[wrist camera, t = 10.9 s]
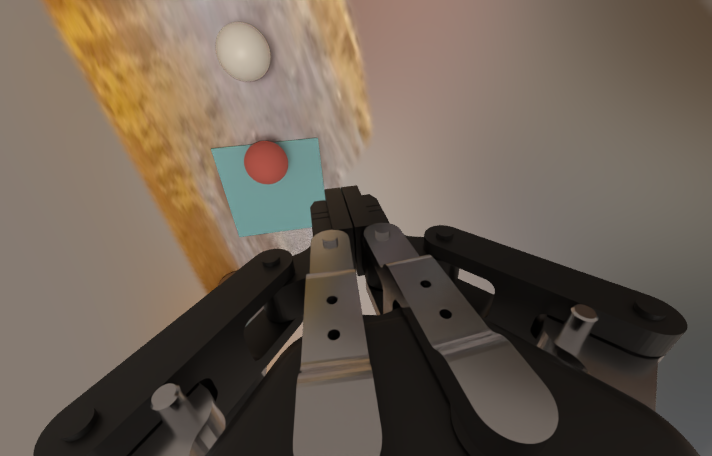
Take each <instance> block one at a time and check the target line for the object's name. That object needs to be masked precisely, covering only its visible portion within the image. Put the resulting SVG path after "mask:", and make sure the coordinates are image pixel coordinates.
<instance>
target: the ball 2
mask: <svg viewBox="0 0 712 456" xmlns="http://www.w3.org/2000/svg"><path fill="white" fill-rule="evenodd" d="M244 166H245V169H246V171H247V173H248V175H249V176H250V177H251V178H252V179H253V180H255V181H256V182H259V183H262V184H274V183H276V182H278V181H280V180H281V179H282V178H283V177H284V176H285V174H286V172H287V170H288V158H287V155H286V153H285V152H284V150H283V149H282V148H281V147H280V146H279V145H277V144H275V143H273V142H270V141H260V142H257V143H254V144H253V145H251V146H250V147H249V148H248V150H247V151H246V153H245V157H244Z"/></svg>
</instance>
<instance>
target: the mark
mask: <svg viewBox="0 0 712 456" xmlns="http://www.w3.org/2000/svg"><path fill="white" fill-rule="evenodd" d="M273 143H275V144H277V145H279V146H280V147H281V148H282V149H283V150H284V152H285V153H286V155H287V158H288V170H287V172H286V174H285V176H284V177H283V178H282V179H281V180H280V181H278V182H276V183H274V184H262V183H259V182H256V181H255V180H253V179H252V178H251V177H250V176H249V175H248V173H247V171H246V169H245V166H244V157H245V153H246V151H247V150H248V148H249V147H250V146H251V145H253V144H251V145H241V146H232V147H222V148H212V149H211V151H212V154H213V157H214V160H215V163H216V166H217V169H218V172H219V175H220V179H221V182H222V185H223V188H224V191H225V194H226V197H227V200H228V203H229V206H230V209H231V213H232V216H233V219H234V222H235V225H236V228H237V231H238V234H239V237H244V236H251V235H258V234H265V233H273V232H280V231H287V230H294V229H301V228H309V227H312V222H311V212H310V207H311V205H312V204H313V202H314V201H321V200H325V194H324V185H323V177H322V169H321V160H320V152H319V144H318V138H310V139H300V140H290V141H281V142H273Z"/></svg>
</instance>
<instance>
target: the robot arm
mask: <svg viewBox="0 0 712 456" xmlns="http://www.w3.org/2000/svg"><path fill="white" fill-rule="evenodd" d="M324 194H325V200H321V201H314V202H313V204H312V205H311V207H310V212H311V222H312V232H313V238H312V240H311V246H310V247H309V248H308V249H307V250H305V251H303V252H301V253H299V254H296V255H294V256H292V255H291V253H290V252H288V251H286V250H283V249H271V250H267V251H264V252H262V253H260V254H258V255H257V256H255V257H254V258H253V259H252V260H250V261H249V262H248V263H247V264H245V265H244V266H243V267H242V268H240V269H239V270H238V271H236V272H232V273H230V274H228V275H226V276H225V277H224V278H223V279H222V280H221V281H220V283H219V285H218V287H216V288H215V289H214V290H213V291H211V292H210V293H209V294H208V295H206V296H205V297H204V298H203V299H201V300H200V301H199V302H198V303H196V304H195V305H194V306H193V307H192V308H190V309H189V310H188V311H187V312H185V313H184V314H183V315H181V316H180V317H179V318H177V319H176V320H175V321H174V322H173V323H171V324H170V325H169V326H168V327H166V328H165V329H164V330H163V331H161V332H160V333H159V334H157V335H156V336H155V337H154V338H152V339H151V340H150V341H149V342H147V344H145V345H144V346H142V347H141V348H140V349H139V350H137V351H136V352H135V353H134V354H132V355H131V356H130V357H129V358H127V359H126V360H125V361H123V362H122V363H121V364H120V365H118V366H117V367H116V368H115V369H113V370H112V371H111V372H110V373H108V374H107V375H106V376H105V377H103V378H102V379H101V380H100V381H98V382H97V383H96V384H95V385H93V386H92V387H91V388H90V389H89V390H87V391H86V392H85V393H83V394H82V395H81V396H80V397H78V398H77V399H76V400H75V401H73V402H72V403H71V404H70V405H68V406H67V407H66V408H64V409H63V410H62V411H61V412H60V413H59V414H57V416H56V417H54V418H53V419H52V420H51V422H50V423H49V424H48V425H47V426H46V428H45V429H44V430H43V432H42V433H41V435H40V437H39V438H38V440H37V443H36V445H35V449H34V456H700V455H699V454H698V453H697V452H696V450H695V449H694V447H693V446H692V445H691V444H690V443H689V442H688V441H687V440H686V439H685V437H684V436H683V435H682V434H681V433H680V432H679V431H678V430H677V429H676V428H674V427H673V426H672V425H671V424H670V423H669V422H668V421H666V420H665V419H664V418H663V417H662V416H660V415H659V414H658V413H656V412H655V411H656V391H657V370H658V363H659V362H660V361H661V360H662V358H663V357H664V356H665V355H666V353H667V352H668V351H669V350H670V349H671V348H672V347H673V346H674V344H675V343H676V342H677V341H678V340H679V339H680V337H681V336H682V335H683V334H684V333H685V331H686V330H687V322H686V320H685V319H684V317H683V316H682V315H681V314H680V313H679V312H678V311H677V310H676V309H674V308H673V307H672V306H670V305H668V304H667V303H665V302H663V301H661V300H659V299H657V298H655V297H652V296H649V295H646V294H644V293H641V292H638V291H635V290H632V289H629V288H626V287H623V286H621V285H618V284H615V283H612V282H609V281H606V280H603V279H600V278H598V277H595V276H592V275H589V274H586V273H583V272H580V271H577V270H574V269H572V268H569V267H566V266H563V265H560V264H557V263H554V262H551V261H549V260H546V259H543V258H540V257H537V256H534V255H531V254H528V253H526V252H522V251H520V250H517V249H514V248H511V247H508V246H505V245H502V244H499V243H497V242H494V241H491V240H488V239H485V238H482V237H479V236H477V235H474V234H471V233H468V232H465V231H462V230H459V229H456V228H454V227H450V226H443V225H439V226H433V227H430V228H429V229H427V230H426V231H425V234H424V237H412V236H406V235H404V234H403V233H402V231H401V230H400V229H399V228H398V227H397V226H395V225H393V224H390V223H389V221H388V219H387V217H386V215H385V214H384V212H383V210H382V208H381V206H380V204H379V202H378V200H377V199H376V198H375V197H373V196H371V195H370V194H368V195H361V193H360V191H359V189H358V187H357V186H348V187H341V189H340V188H332V189H324ZM459 268H460V269H463V270H465V271H467V272H470V273H472V274H474V275H477V276H479V277H482V278H484V279H486V280H488V281H489V282H490V283H492V285H493V286H494V288H495V294H491V293H489V292H487V291H484V290H482V289H480V288H478V287H475V286H473V285H471V284H469V283H467V282H464V281H462V280H460V279H458V274H459ZM356 271H357V274H358V276H362V275H365V278H366V289H367V293H368V295H369V297H370V300H371V302H372V305H373V307H374V309H375V312H376V315H362V309H361V303H360V297H359V290H358V284H357V277H356ZM302 322H303V336H302V337H300V338H299V339H298V340H296V341H295V342H293V343H292V344H291V345H290V346H289V347H288V348H287V349H286V350H285V351H284V352H283V353H282V354H281V355H280V357H279V358H278V359H277V361H276V362H275V363H274V365H273V366H272V367H271V369H270V370H269V371H268V372H267V374H266V368H267V365H268V364H269V363H270V361H271V360H272V359H273V358H274V356H275V355H276V354H277V353H278V352H279V350H280V349H281V348H282V347H283V345H284V344H285V343H286V342H287V340H288V339H289V338H290V337H291V336H292V334H293V333H294V332H295V331H296V329H297V328H298V327H299V326H300V325H301V323H302Z"/></svg>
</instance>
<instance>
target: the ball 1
mask: <svg viewBox="0 0 712 456" xmlns="http://www.w3.org/2000/svg"><path fill="white" fill-rule="evenodd" d="M216 54H217V57H218V60H219V62H220V64H221V66H222V67H223V69H224V70H225V71H226V72H227V73H228V74H229V75H231V76H232V77H234V78H235V79H237V80H240V81H245V82H252V81H256V80H258V79H260V78H261V77H263V76H264V75H265V73H266V72H267V70H268V68H269V65H270V59H271V55H270V49H269V46H268V43H267V41H266V39H265V38H264V36H263V35H262V34H261V33H260V32H259V31H258V30H257V29H256V28H255V27H253V26H251V25H249V24H247V23H243V22H233V23H230V24H228V25H226V26H224V27H223V28H222V29H221V31H220V32H219V34H218V36H217V39H216Z"/></svg>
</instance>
